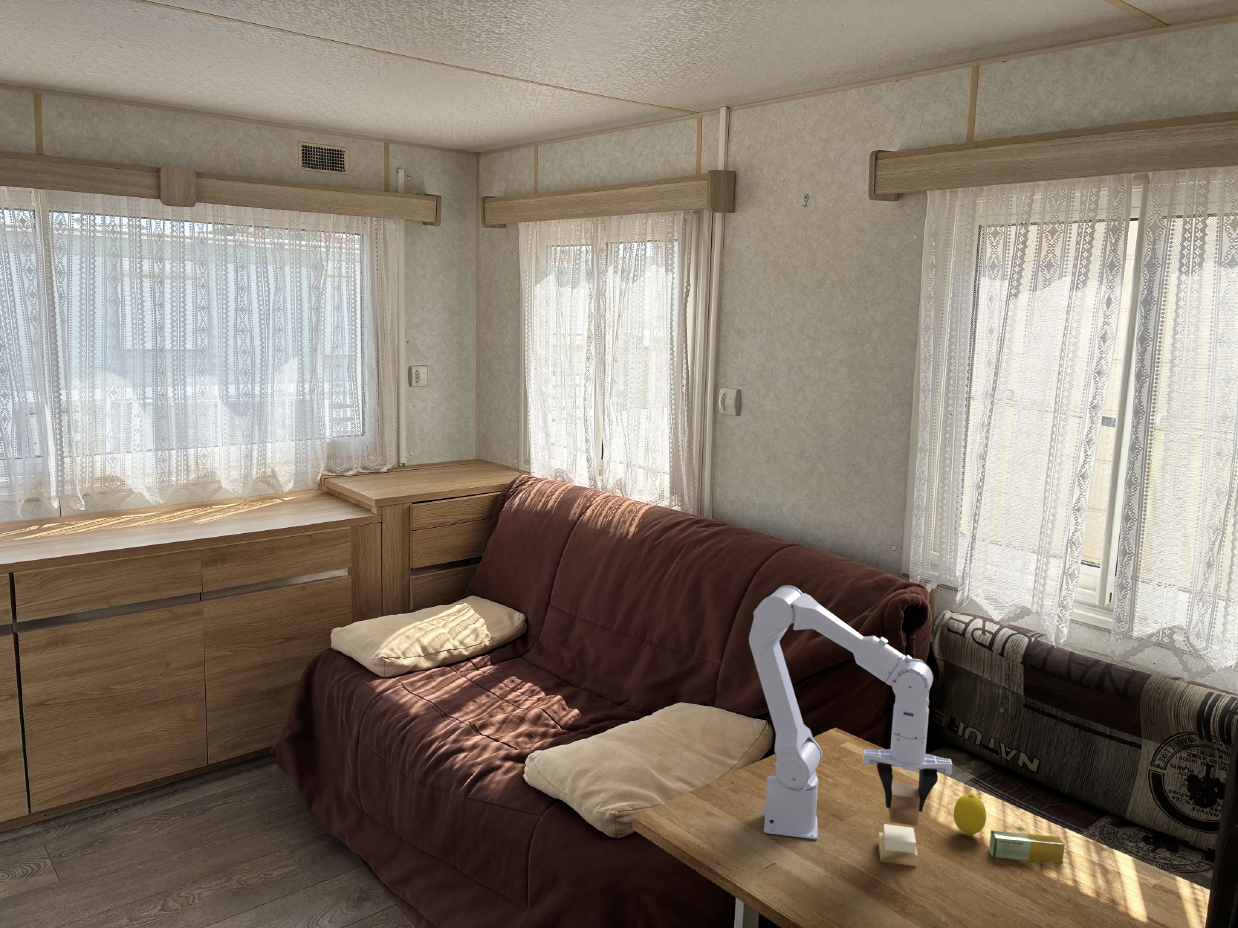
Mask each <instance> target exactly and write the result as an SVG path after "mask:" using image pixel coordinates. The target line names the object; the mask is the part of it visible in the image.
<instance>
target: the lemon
mask: <svg viewBox="0 0 1238 928" xmlns="http://www.w3.org/2000/svg"><path fill="white" fill-rule="evenodd" d="M985 806H986V805H985V804H984V802H983V801H982V800H981V799H980V798H979V797H978V796H976V795H975V794H974V793H968V794H967V793H966V794H964V795H961V796H960V797H959V798H958V799H957V800H956V802H955V804H954V808H953V821H954V823H955V825H956V827H957V828H958V829H959V831H961V832H963V834H965V835H966V836H968V837H969V836H972V835H976V834H978V833H980V832H981V831H982V830H983V829H984V828H985V824H986V822H987V810H986V807H985Z"/></svg>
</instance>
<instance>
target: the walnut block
mask: <svg viewBox="0 0 1238 928" xmlns="http://www.w3.org/2000/svg"><path fill="white" fill-rule="evenodd" d="M918 788H919V785H913V784H906V783H905V784H904V783H898V782H892V788H891V807H890V808H888V815H889V822H890V823H895V824H896V823H897V824H902V825H908V826H915V827H918V826H919V825H918V824H919V804H920V796H919V790H918Z"/></svg>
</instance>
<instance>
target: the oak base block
mask: <svg viewBox="0 0 1238 928" xmlns="http://www.w3.org/2000/svg"><path fill="white" fill-rule="evenodd" d="M877 844H878V853H879V860H880V862H883V863H892V864H899V865H905V866H913V867H917V866H918V857H919V856H918V849H917V848H916V851H915V854H914V853H907V852H899V851H892V850H885V846H884V837H883V832H881V831H879V832H878V841H877Z"/></svg>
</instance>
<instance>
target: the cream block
mask: <svg viewBox="0 0 1238 928" xmlns="http://www.w3.org/2000/svg"><path fill="white" fill-rule="evenodd" d="M882 833H883V837H884V846H885V850H892V851H899V852H907V853H914V854H915V851H916V849H917V841H916V840H917V839H916V835H915V830H914V827H909V826H903V825H902V826H901V825H896V824H886V823H884V824H883V832H882Z"/></svg>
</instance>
